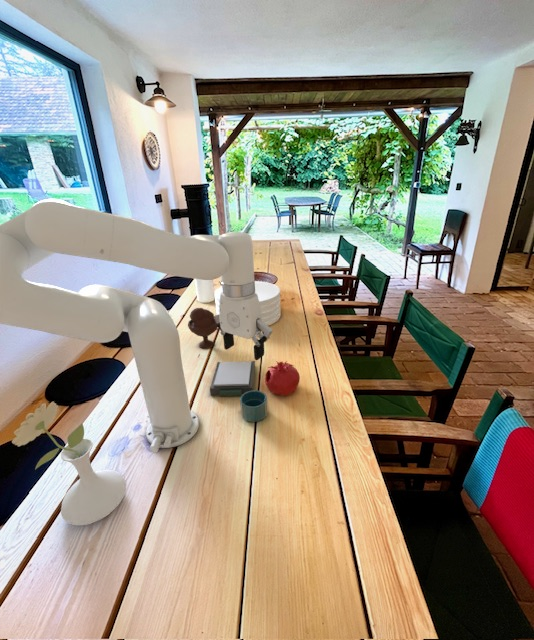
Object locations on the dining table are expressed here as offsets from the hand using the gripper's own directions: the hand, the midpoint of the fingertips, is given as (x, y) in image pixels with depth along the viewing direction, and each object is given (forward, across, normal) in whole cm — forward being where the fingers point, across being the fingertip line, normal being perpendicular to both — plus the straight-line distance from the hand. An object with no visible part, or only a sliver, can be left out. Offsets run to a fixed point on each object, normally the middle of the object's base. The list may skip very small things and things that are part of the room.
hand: (244, 352), depth 81 cm
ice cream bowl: (+16, -34, +18) cm, 41 cm away
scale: (+16, -10, +6) cm, 20 cm away
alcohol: (+16, -67, +52) cm, 86 cm away
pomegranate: (+16, +4, +10) cm, 20 cm away
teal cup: (+16, +4, -3) cm, 17 cm away
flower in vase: (+16, -7, -40) cm, 44 cm away
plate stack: (+16, -36, +47) cm, 62 cm away
